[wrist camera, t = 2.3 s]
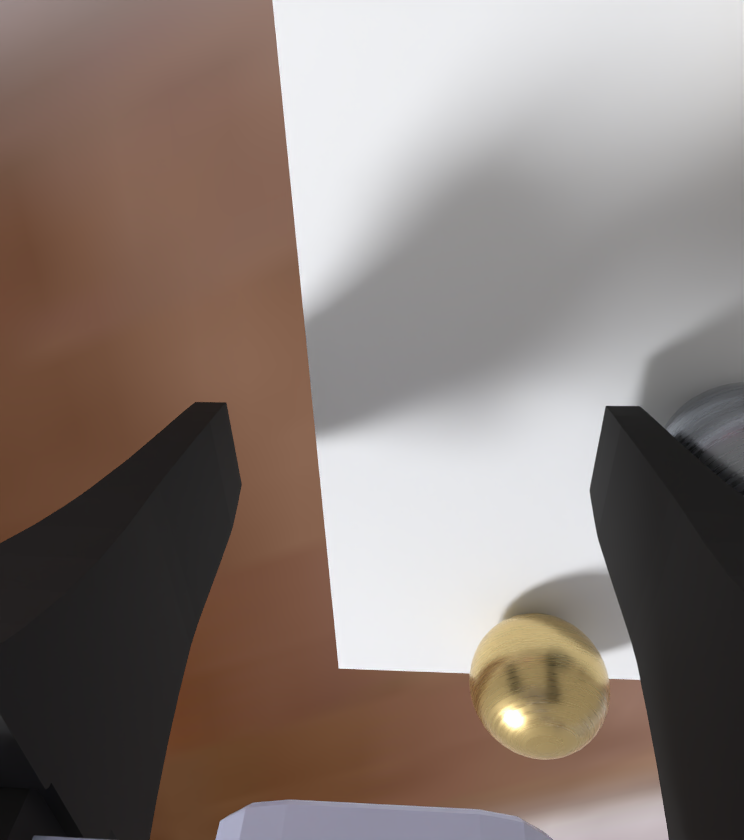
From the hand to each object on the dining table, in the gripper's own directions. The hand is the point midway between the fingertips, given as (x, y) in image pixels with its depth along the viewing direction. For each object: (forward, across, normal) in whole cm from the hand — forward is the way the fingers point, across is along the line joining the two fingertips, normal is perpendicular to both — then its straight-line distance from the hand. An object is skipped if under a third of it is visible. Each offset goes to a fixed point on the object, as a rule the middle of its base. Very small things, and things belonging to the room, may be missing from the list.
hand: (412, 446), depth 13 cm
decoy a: (-1, -3, +6) cm, 7 cm away
